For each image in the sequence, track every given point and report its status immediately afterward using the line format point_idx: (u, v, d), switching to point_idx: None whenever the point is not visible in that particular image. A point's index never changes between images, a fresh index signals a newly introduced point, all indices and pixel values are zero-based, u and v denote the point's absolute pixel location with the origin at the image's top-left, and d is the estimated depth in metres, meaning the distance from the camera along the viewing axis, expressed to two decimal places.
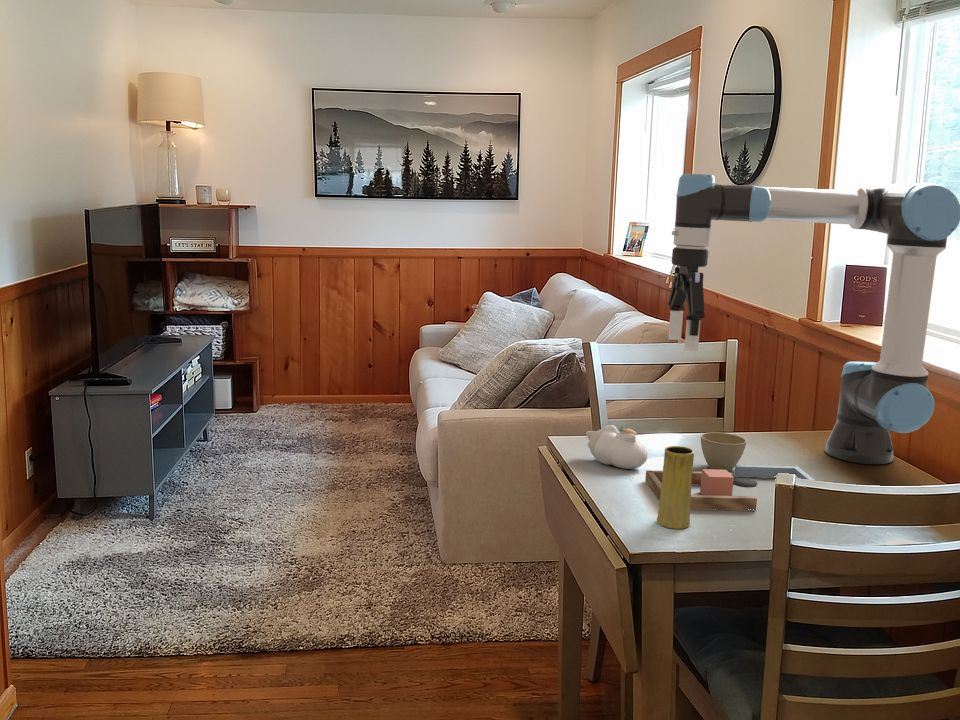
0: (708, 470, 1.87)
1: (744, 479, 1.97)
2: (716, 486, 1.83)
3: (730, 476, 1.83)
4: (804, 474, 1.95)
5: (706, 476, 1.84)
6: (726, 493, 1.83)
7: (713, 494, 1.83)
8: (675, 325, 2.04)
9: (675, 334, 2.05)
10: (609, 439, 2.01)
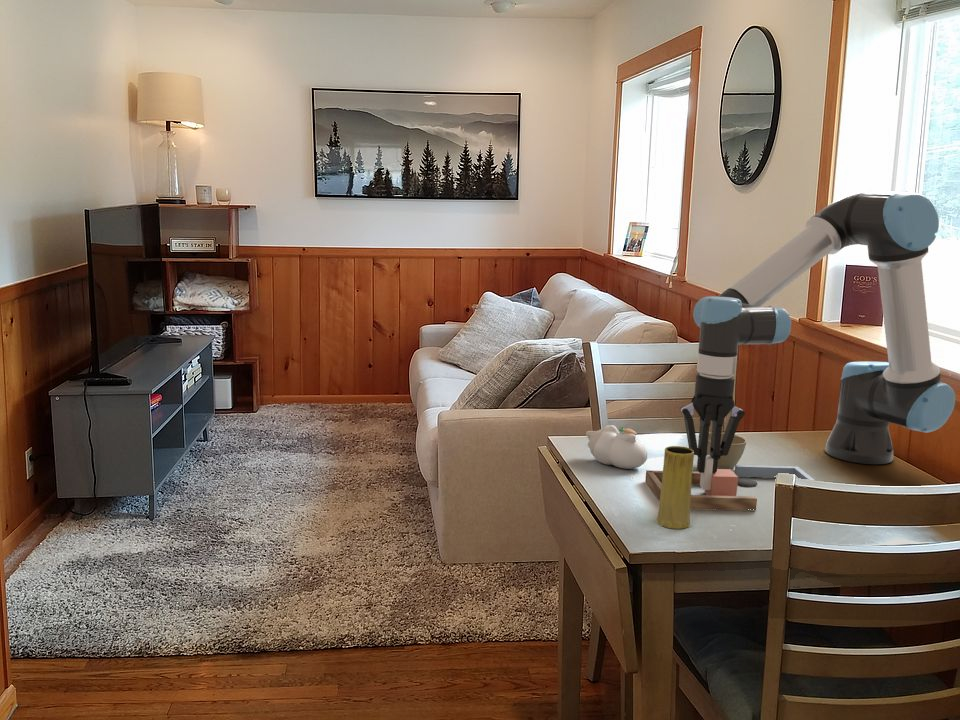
0: None
1: (744, 479, 1.97)
2: (720, 485, 1.83)
3: (735, 475, 1.83)
4: (804, 474, 1.95)
5: None
6: (730, 493, 1.83)
7: (717, 493, 1.83)
8: None
9: None
10: (609, 439, 2.01)
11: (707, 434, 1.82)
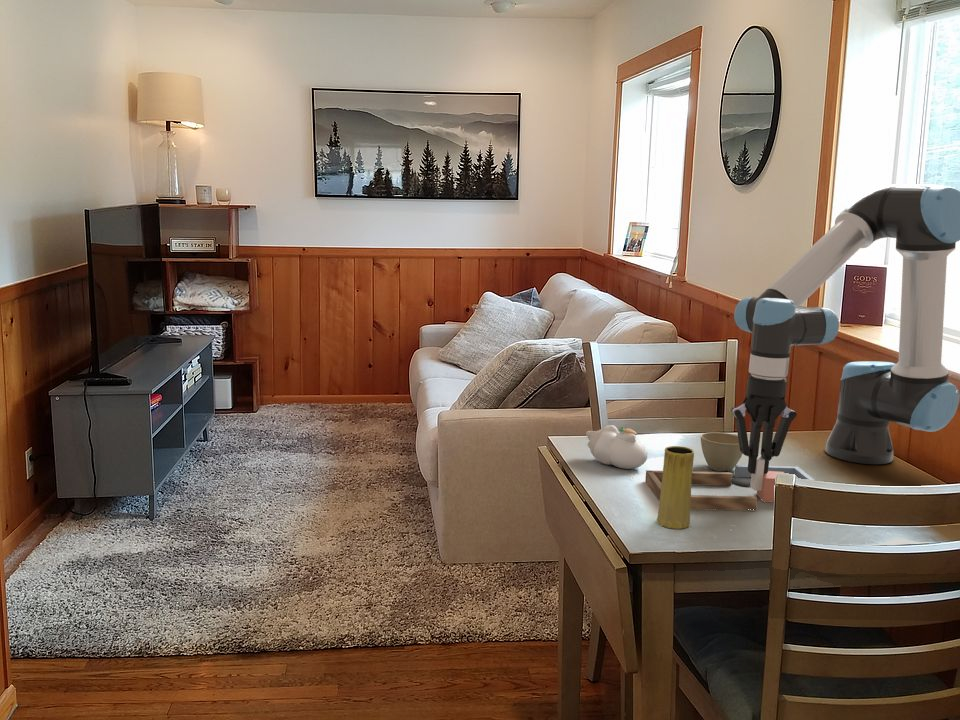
0: None
1: (744, 479, 1.97)
2: (772, 488, 1.83)
3: None
4: (804, 474, 1.95)
5: None
6: None
7: (769, 496, 1.83)
8: None
9: None
10: (609, 439, 2.01)
11: (759, 435, 1.83)
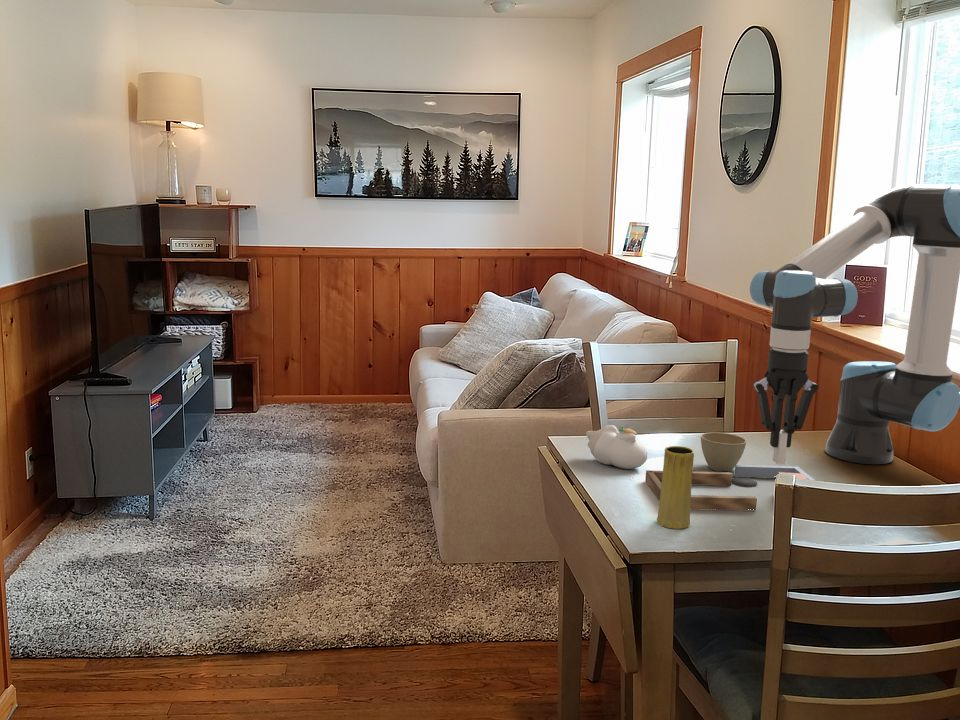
0: None
1: (744, 479, 1.97)
2: None
3: None
4: (804, 474, 1.95)
5: None
6: None
7: None
8: None
9: None
10: (609, 439, 2.01)
11: (781, 408, 1.82)
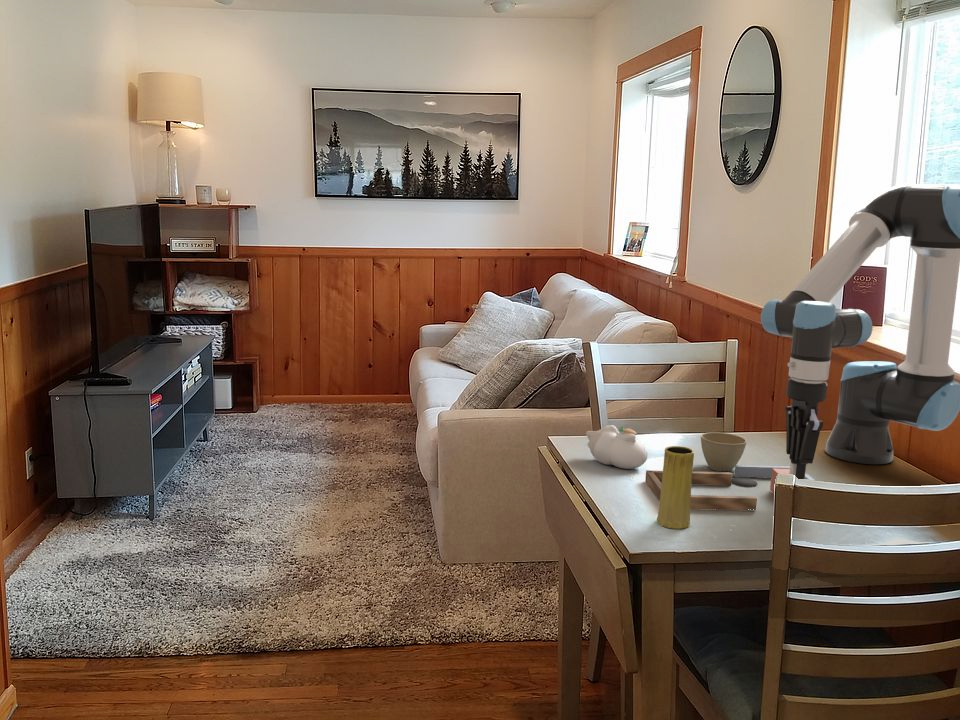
0: (778, 469, 1.89)
1: (744, 479, 1.97)
2: None
3: None
4: None
5: None
6: None
7: None
8: None
9: None
10: (609, 439, 2.01)
11: None
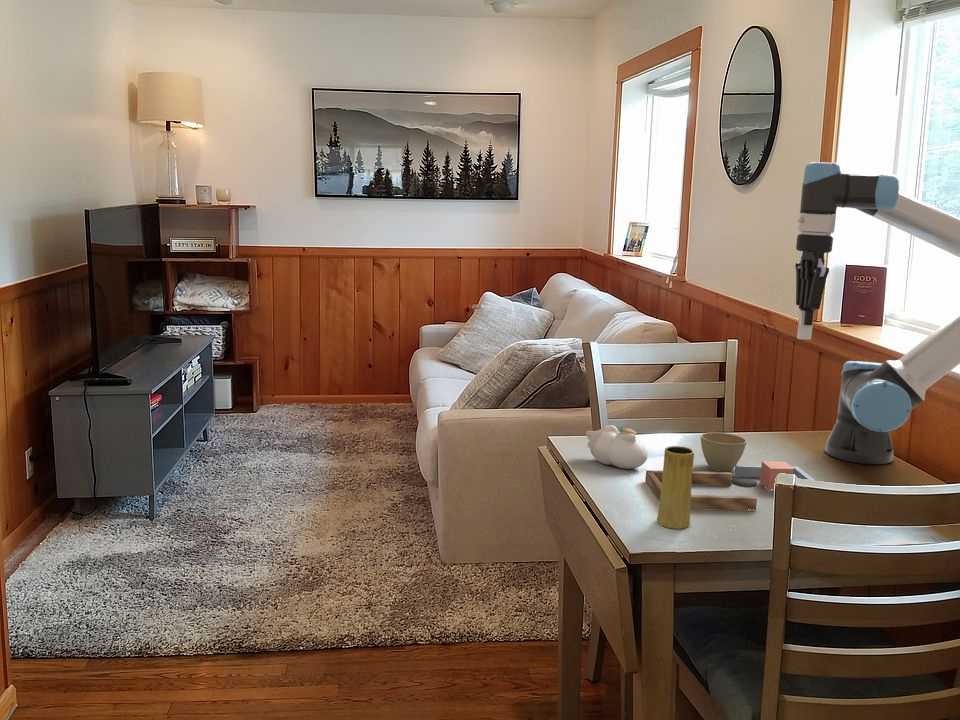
0: (768, 462, 1.94)
1: (744, 479, 1.97)
2: None
3: (790, 468, 1.91)
4: (804, 474, 1.95)
5: (767, 467, 1.92)
6: None
7: None
8: (804, 324, 2.05)
9: None
10: (609, 439, 2.01)
11: None
